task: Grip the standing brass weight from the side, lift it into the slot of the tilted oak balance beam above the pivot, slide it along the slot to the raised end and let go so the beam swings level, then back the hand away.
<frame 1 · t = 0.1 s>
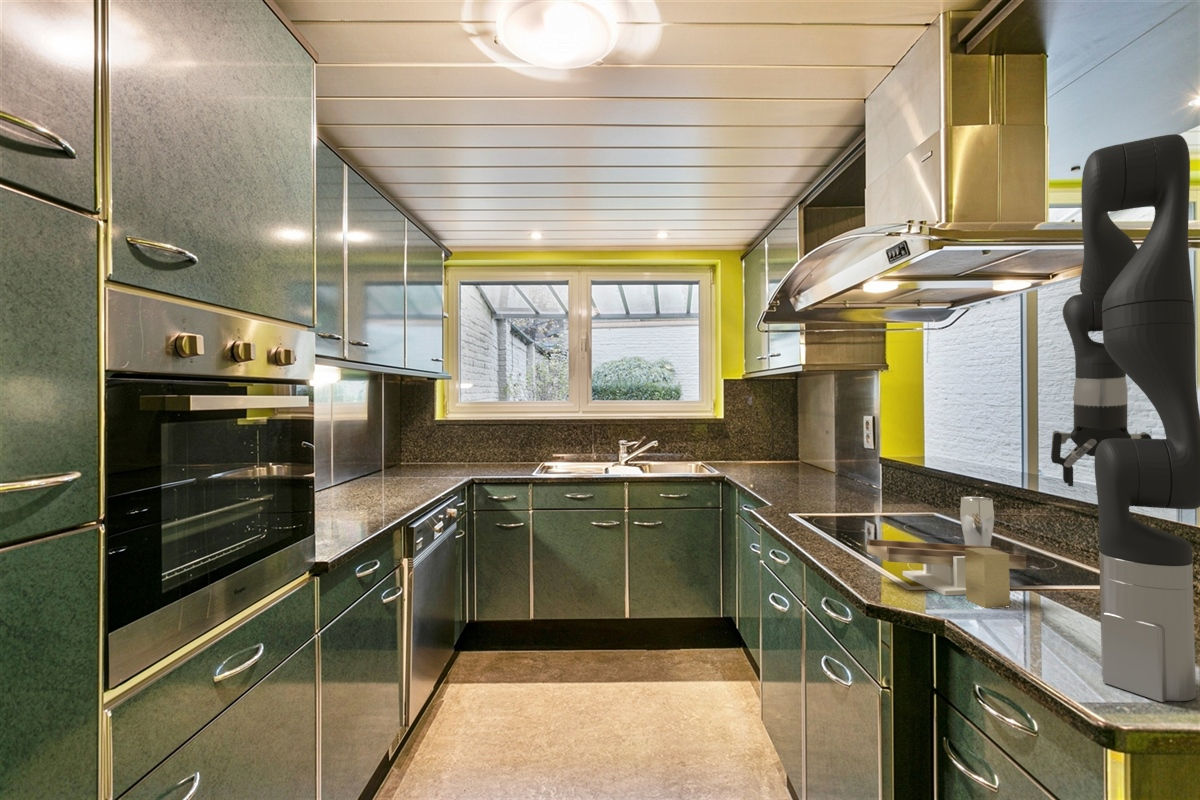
hand: (1099, 487, 108), 22 cm above the worktop, tool pointing down, fingers open, 8 cm apart
beam stand: (945, 584, 123), on the worktop
balance beam: (945, 553, 123), point 6 cm above the worktop, hinge at -5.0°
brass weight: (987, 603, 111), on the worktop
beer glass: (977, 560, 142), on the worktop
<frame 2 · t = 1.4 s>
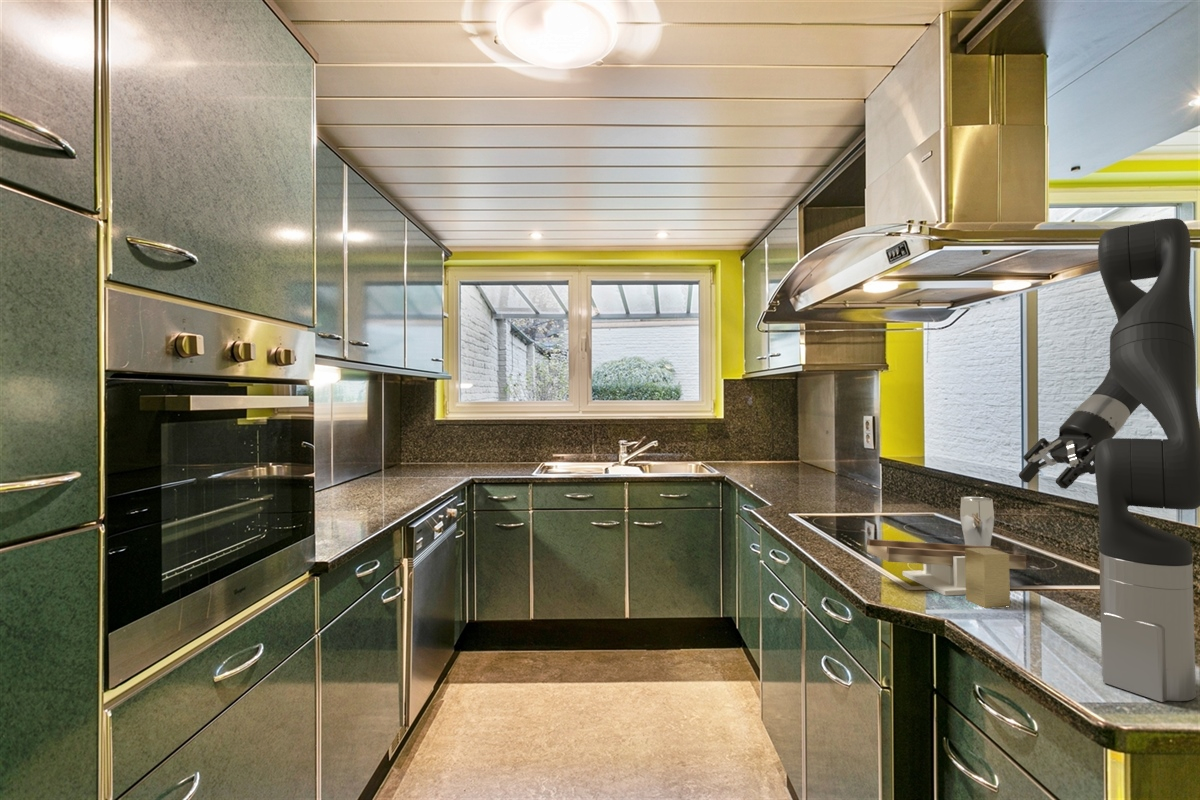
hand: (1040, 482, 112), 23 cm above the worktop, tool tilted 45°, fingers open, 8 cm apart
nothing on the worktop moved.
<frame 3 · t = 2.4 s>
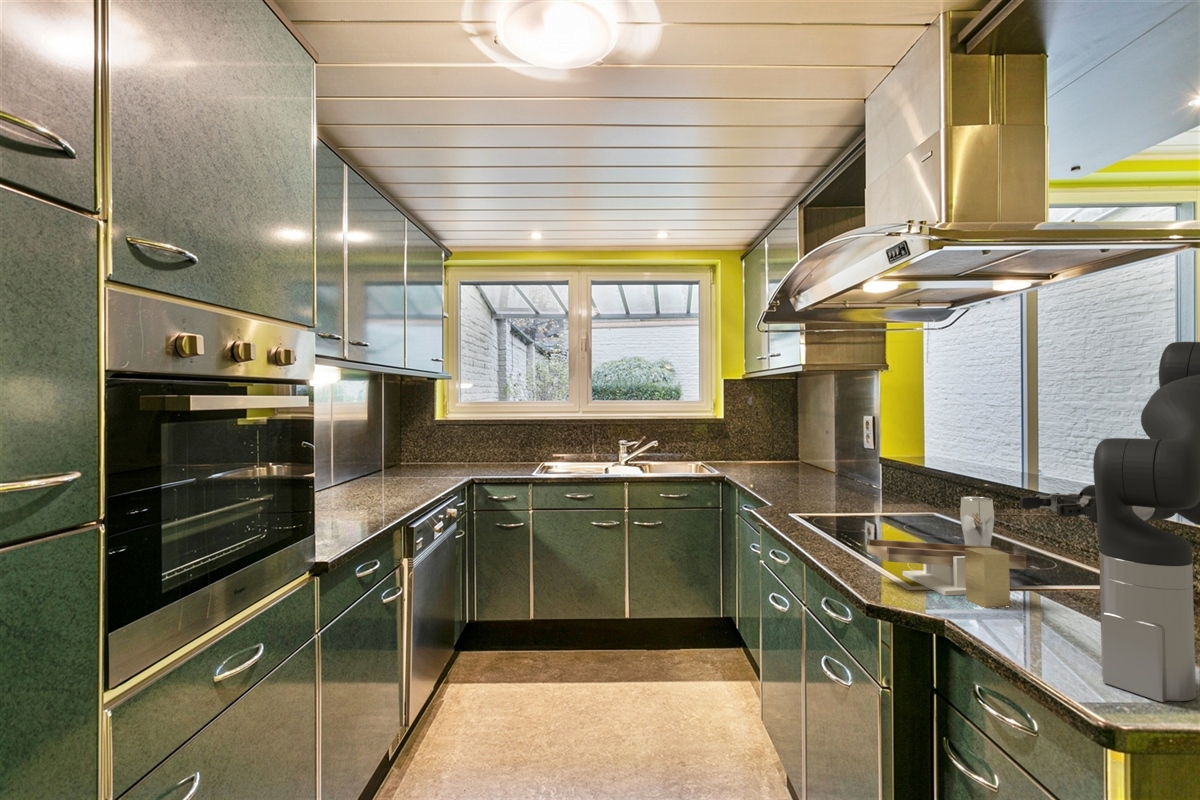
hand: (1039, 506, 112), 18 cm above the worktop, tool horizontal, fingers open, 8 cm apart
nothing on the worktop moved.
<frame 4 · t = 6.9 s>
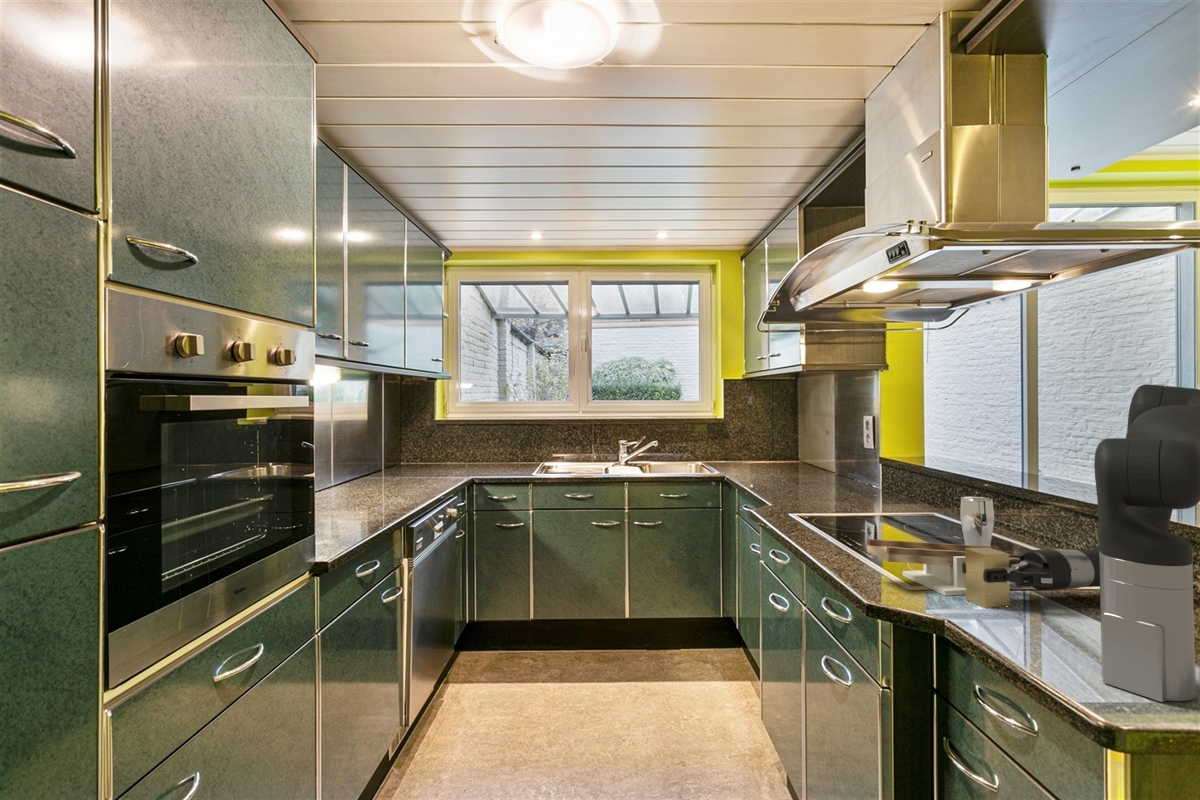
hand: (974, 572, 111), 6 cm above the worktop, tool horizontal, fingers closed on brass weight, 5 cm apart
brass weight: (987, 603, 111), on the worktop, touching gripper
everything else where it was.
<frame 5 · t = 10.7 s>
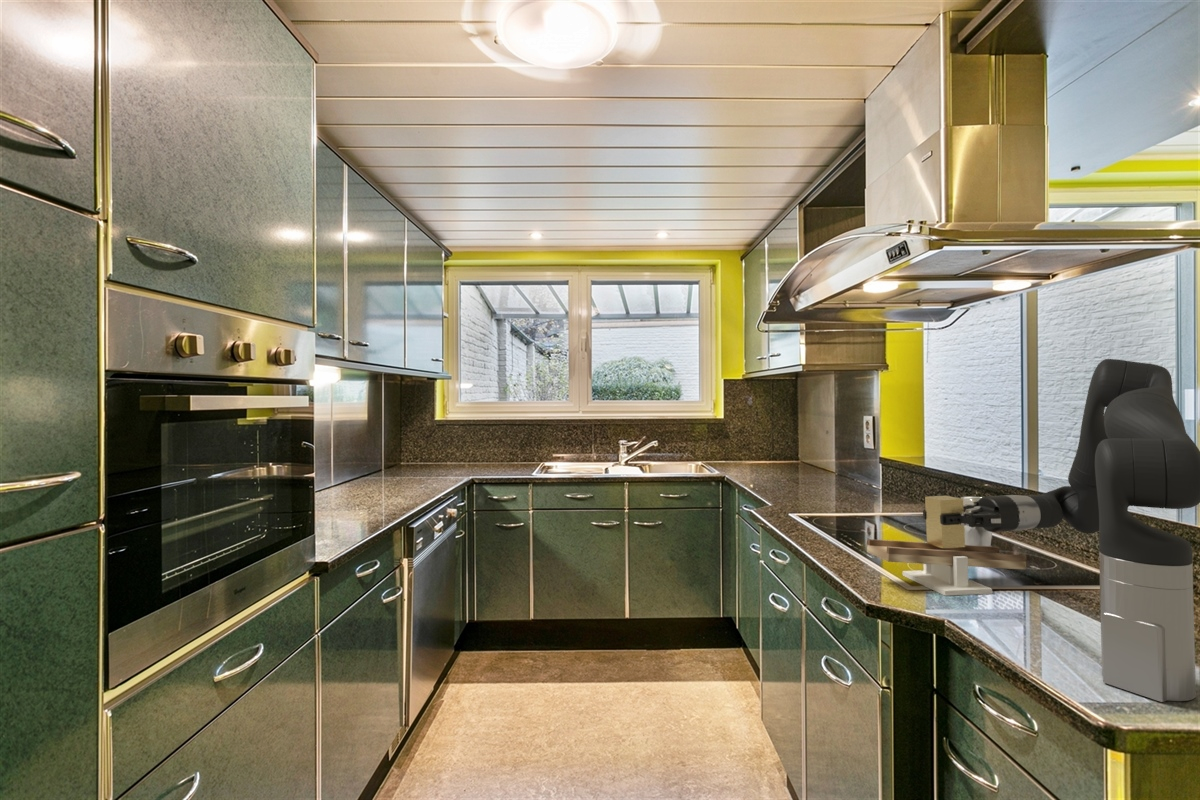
hand: (932, 517, 123), 14 cm above the worktop, tool horizontal, fingers closed on brass weight, 5 cm apart
brass weight: (945, 544, 123), point 8 cm above the worktop, touching gripper
everything else where it was.
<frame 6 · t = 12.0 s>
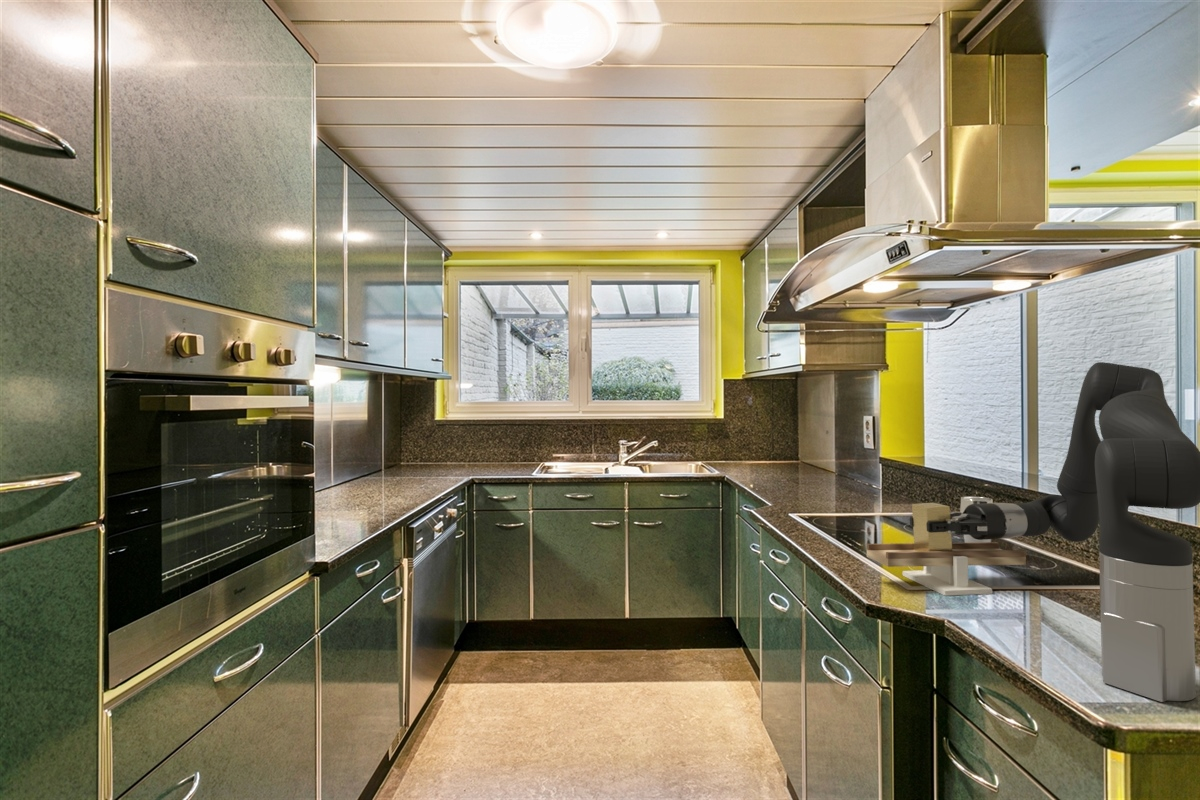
hand: (919, 524, 122), 13 cm above the worktop, tool horizontal, fingers closed on brass weight, 5 cm apart
balance beam: (944, 553, 123), point 6 cm above the worktop, hinge at -1.1°
brass weight: (933, 552, 123), point 7 cm above the worktop, touching gripper
everything else where it was.
when the fingers open (14 cm above the worktop, at t = 14.4 s): brass weight drops 1 cm, resting on balance beam.
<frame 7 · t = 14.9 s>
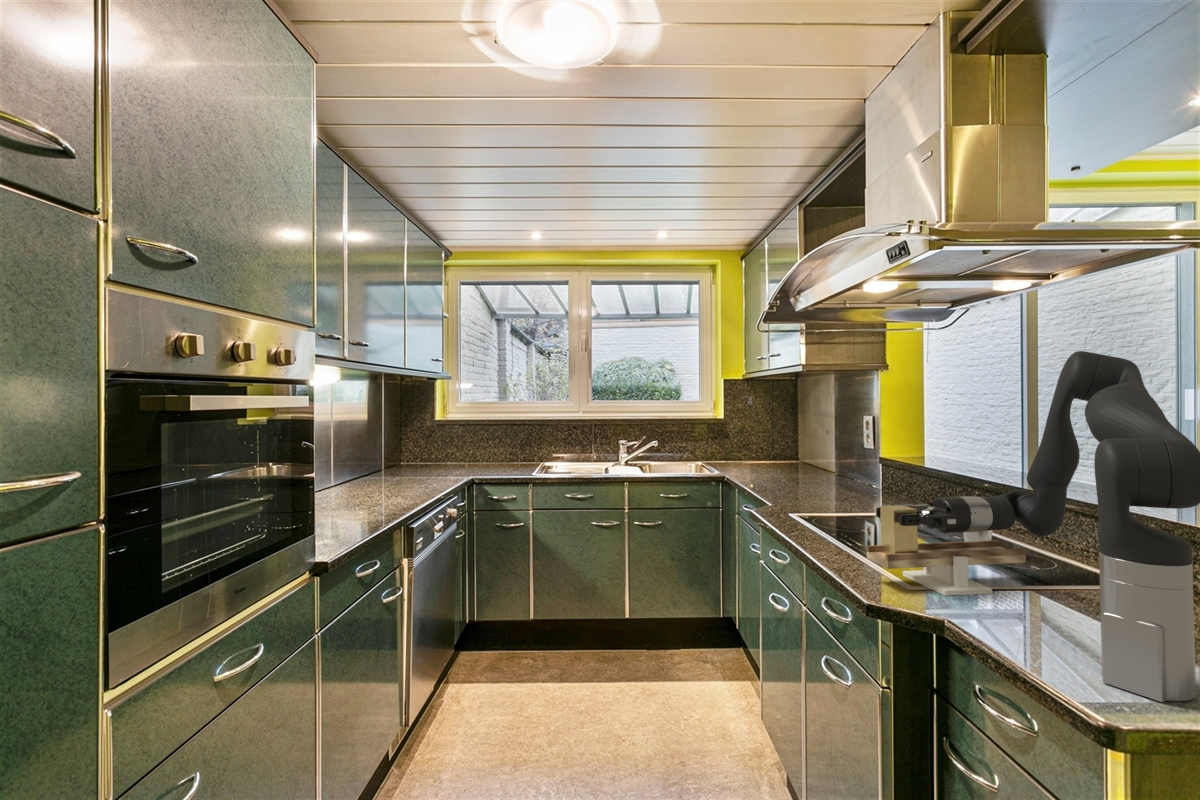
hand: (888, 516, 122), 15 cm above the worktop, tool horizontal, fingers open, 8 cm apart
balance beam: (944, 553, 123), point 6 cm above the worktop, hinge at 0.5°, touching brass weight
brass weight: (899, 555, 122), point 7 cm above the worktop, touching balance beam
everything else where it was.
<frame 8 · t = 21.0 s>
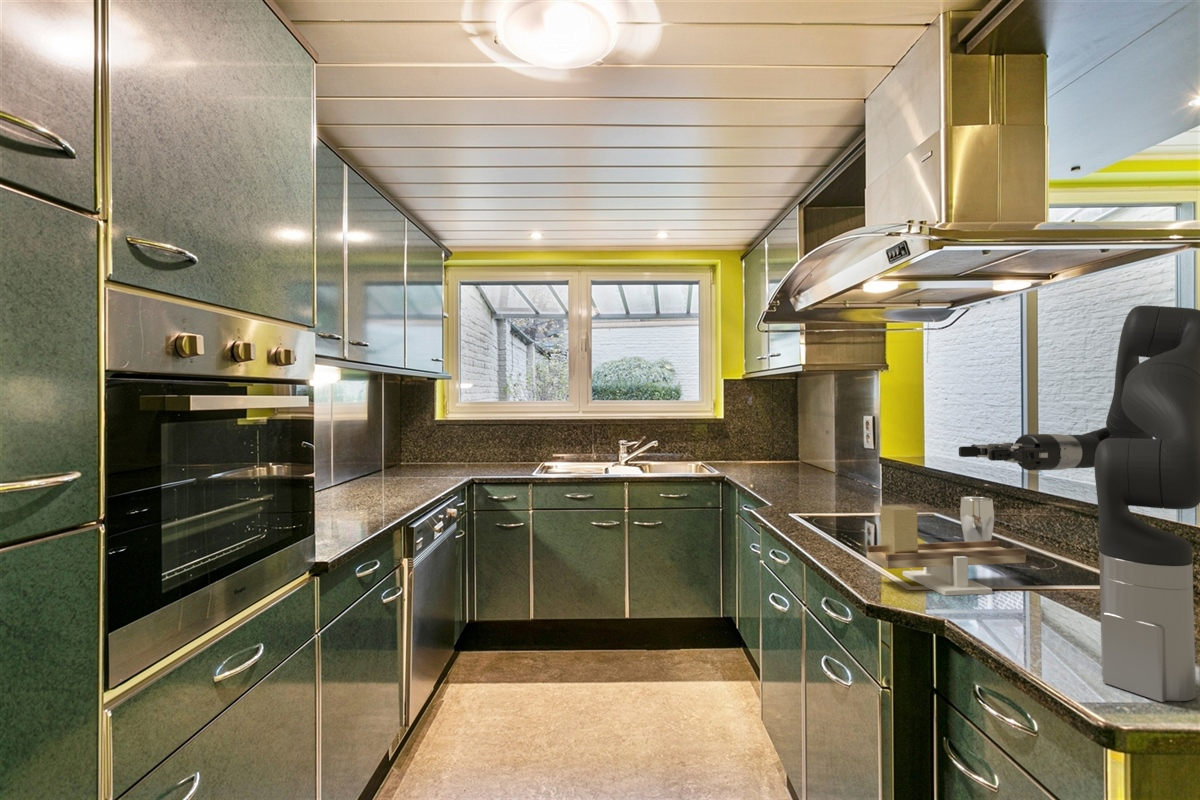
hand: (974, 453, 120), 28 cm above the worktop, tool horizontal, fingers open, 8 cm apart
nothing on the worktop moved.
at the end: balance beam at +0° (first picture: -5°); brass weight inside the target area on the balance beam (0.3 cm from its centre), point 1.5 cm above the balance beam's base; brass weight tilted 1° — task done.
